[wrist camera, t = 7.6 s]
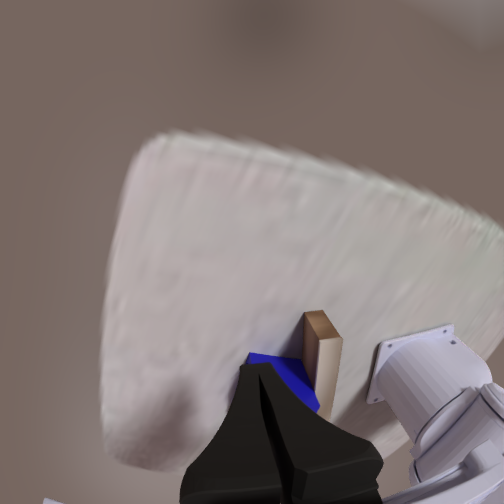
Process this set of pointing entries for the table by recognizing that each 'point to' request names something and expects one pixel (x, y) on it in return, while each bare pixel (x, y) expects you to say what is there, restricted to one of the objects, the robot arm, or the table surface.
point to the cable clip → (290, 376)
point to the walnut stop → (321, 358)
